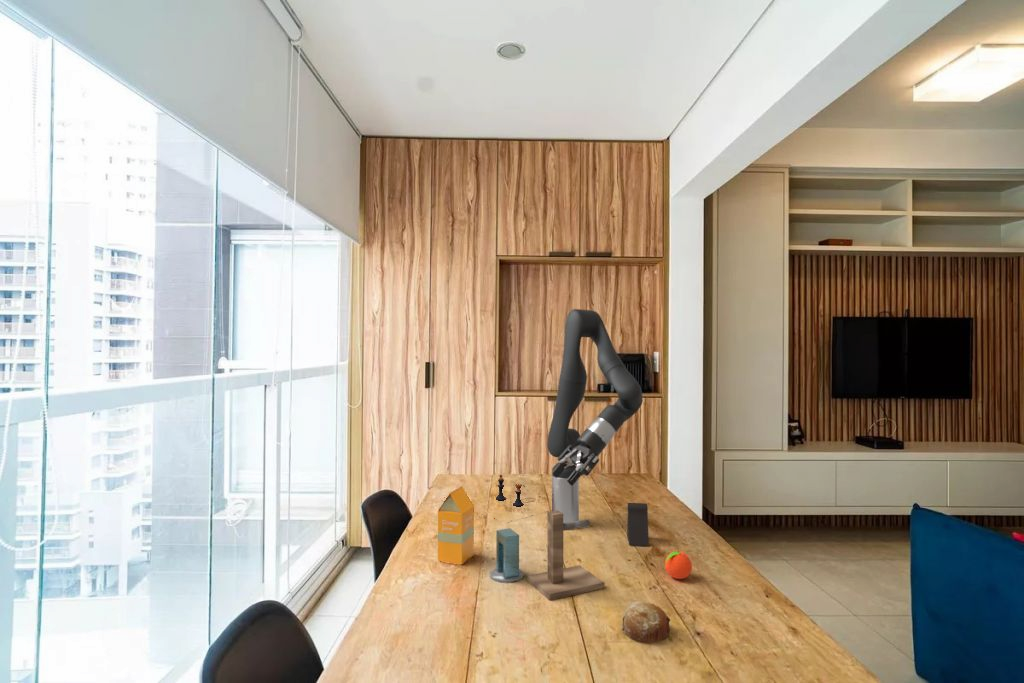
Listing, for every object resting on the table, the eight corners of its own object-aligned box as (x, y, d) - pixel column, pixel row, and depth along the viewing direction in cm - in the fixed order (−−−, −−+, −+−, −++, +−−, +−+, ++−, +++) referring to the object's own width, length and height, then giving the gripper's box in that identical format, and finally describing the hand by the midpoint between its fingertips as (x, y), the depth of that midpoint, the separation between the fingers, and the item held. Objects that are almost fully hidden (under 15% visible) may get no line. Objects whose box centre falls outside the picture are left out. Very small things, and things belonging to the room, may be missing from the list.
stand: (527, 581, 142) (527, 508, 143) (579, 570, 149) (579, 501, 149) (549, 600, 132) (549, 521, 132) (604, 588, 138) (604, 513, 139)
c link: (496, 570, 148) (496, 530, 148) (509, 568, 149) (509, 528, 150) (505, 579, 142) (505, 537, 142) (519, 576, 144) (519, 535, 144)
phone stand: (648, 547, 167) (648, 508, 167) (629, 546, 168) (628, 507, 168) (645, 537, 176) (645, 500, 176) (627, 536, 177) (626, 499, 177)
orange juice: (474, 554, 161) (474, 486, 162) (461, 565, 153) (462, 494, 153) (450, 551, 164) (450, 484, 164) (437, 561, 155) (437, 492, 156)
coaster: (485, 572, 148) (485, 570, 148) (515, 566, 152) (515, 564, 152) (498, 585, 140) (498, 582, 140) (529, 579, 144) (529, 576, 144)
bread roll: (624, 636, 122) (609, 605, 122) (664, 615, 123) (649, 583, 123) (638, 662, 112) (622, 627, 112) (681, 638, 113) (665, 604, 113)
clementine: (675, 586, 139) (675, 558, 139) (656, 576, 145) (656, 549, 146) (697, 580, 143) (697, 553, 143) (678, 570, 149) (678, 544, 149)
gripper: (576, 424, 163) (541, 465, 158) (602, 432, 150) (566, 477, 145) (590, 440, 165) (557, 481, 161) (618, 450, 152) (582, 494, 148)
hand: (561, 479), depth 153 cm, fingers open, 8 cm apart
